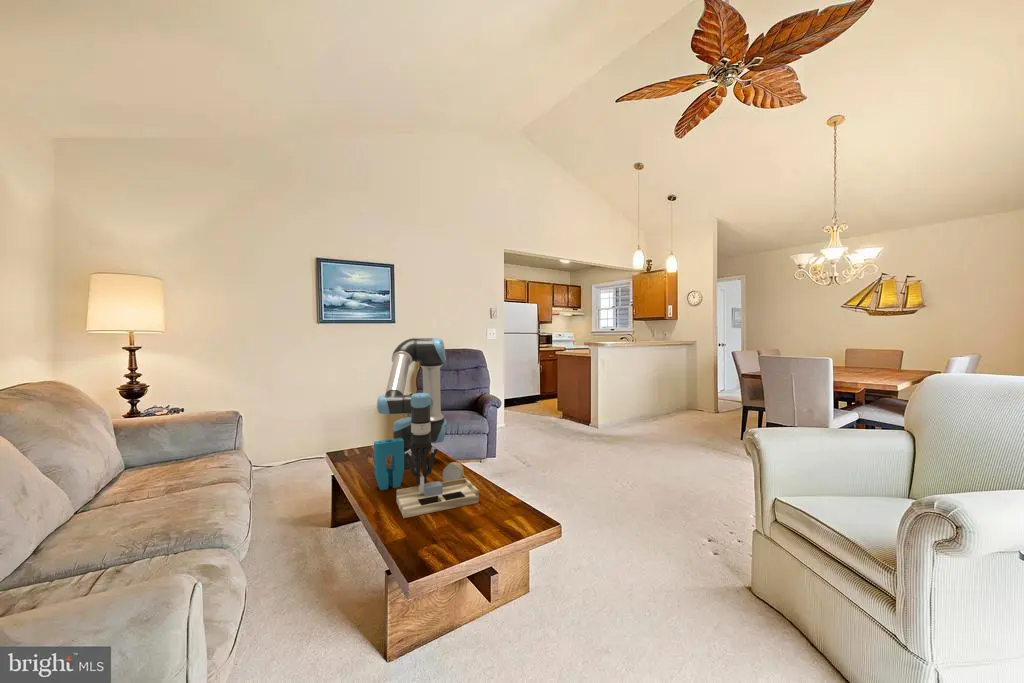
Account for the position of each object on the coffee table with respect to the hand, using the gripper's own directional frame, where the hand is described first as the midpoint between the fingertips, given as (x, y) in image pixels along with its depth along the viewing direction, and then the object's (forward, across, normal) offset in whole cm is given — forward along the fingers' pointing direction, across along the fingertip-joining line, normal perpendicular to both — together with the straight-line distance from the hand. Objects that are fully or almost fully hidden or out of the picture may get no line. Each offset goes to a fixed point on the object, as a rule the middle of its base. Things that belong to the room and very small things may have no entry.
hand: (421, 492), depth 156 cm
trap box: (+4, +6, -3) cm, 8 cm away
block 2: (+4, -9, +22) cm, 25 cm away
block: (+1, +4, 0) cm, 4 cm away
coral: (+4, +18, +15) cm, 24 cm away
